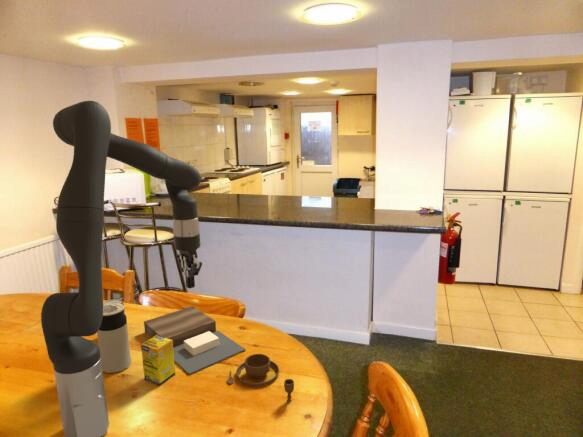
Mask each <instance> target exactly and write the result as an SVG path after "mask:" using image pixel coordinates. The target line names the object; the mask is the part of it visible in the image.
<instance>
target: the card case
mask: <svg viewBox="0 0 583 437" xmlns="http://www.w3.org/2000/svg"><path fill="white" fill-rule="evenodd" d="M219 345H220V344H219V338H218V337H217V336H216V335H214V334H213V333H211V332H210V331H208V332H206V333H203V334H200V335H198V336H195V337H192V338H190V339H187V340H184V348H185V349H186V350H187V351H188V352H190V353H191V354H192V355H193V356H195V355H197V354H199V353H202V352H204V351H207V350H209V349H212V348H214V347H216V346H219Z"/></svg>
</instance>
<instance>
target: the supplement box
mask: <svg viewBox="0 0 583 437" xmlns="http://www.w3.org/2000/svg"><path fill="white" fill-rule="evenodd" d="M140 347H141V349H140V350H141V358H142V365H143V366H142V367H143V377H144V381H146V382H147V381H148V382H150V383H153V384H154V385H155V384H156V385H157V386H162V385H164V384H165V383H167V381H170V379H171V378H173V377H174V376H176V365H175V364H176V363H175V362H174V351H173V340H171V339H167V338H164V337H161V336H158V335H156V336H154V337H153V338H149V339H147V340H146V341H145V342H143V343H141V344H140Z"/></svg>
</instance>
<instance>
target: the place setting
mask: <svg viewBox="0 0 583 437" xmlns="http://www.w3.org/2000/svg"><path fill="white" fill-rule="evenodd" d="M271 367H272V368H273V369H274V371H275V376H274V377H272V378H271V379H269V380H265V381H263V382H262V381H261V382H250V381H246V380H244V379H242V378H241V377H239V374H240V375H241V372H242V371H243V370H244V369H245V372H246V375H248V376H250V377H251V378H253V379H261V378H264V376H266V375H268V373H269V372H270V370H271ZM241 370H242V371H241ZM228 373H229V377H228V378H227V380H226V382H227V384H228V385H232V384H233V383H234V382H235V379H234V378H233V377H232V371H231V370H229V372H228ZM279 374H280V367H279V365H278V364H277V363H276V362H274V361H272V360H271V359H270V357H269V356H268V355H266V354H264V353H263V354H262V353H253V354H251V355H248V356H247V357H246V358H245V359H244V362H242V363H241V364H239V365H238V367H237V368H236V371H235V375H236V379H238V381H239V382H240V383H241V384H243V385H245V386H247V387H248V386H249V387H254V388H259V387H264V386H267V385H270V384H272V383H273V382H274V381H276V379H277V378H278V376H279ZM294 381H295V380H293V379H292V378H287V379H284V382H283V384H284V385H283V387H284V388H283V389H284V391H285V393H286V394H287V396H286V398H287V400H286V402H288V403H291V402H292V395H291V394H292V393H293V392H294V388H295V382H294Z"/></svg>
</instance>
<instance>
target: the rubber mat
mask: <svg viewBox="0 0 583 437" xmlns="http://www.w3.org/2000/svg"><path fill="white" fill-rule="evenodd" d="M213 334H214V335H216V336H217V337H218V338H219V344H220V345H219V346H216V347H214V348H212V349H209V350H207V351H204V352H202V353H199V354H197V355H195V356H193V355H192V354H191V353H190V352H188V351H187V350H186V349H185V348H184V344H181V345H179V346H176V347H174V348H173V351H174V363H175V364H177V365H178V366H179V367H180V368H181V369H182V370H183V371H184V372H185V373H186V374H187V375H189V376H190V375H193V374H196V373H198V372H200V371H202V370H205V369H207V368H209V367H211V366H214V365H216V364H218V363H220V362H223V361H225V360H228V359H229V358H232V357H234V356H236V354H237V355H238V353H239V354H241V353H244V352H246V348H244V346H242V345H240V344H239V343H238V342H236V341H234V340H233V339H231V338H230V337H229V336H227V335H226V334H224V333H222V332H221V331H220V330H216V332H213ZM243 351H244V352H243ZM227 358H228V359H227Z"/></svg>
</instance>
